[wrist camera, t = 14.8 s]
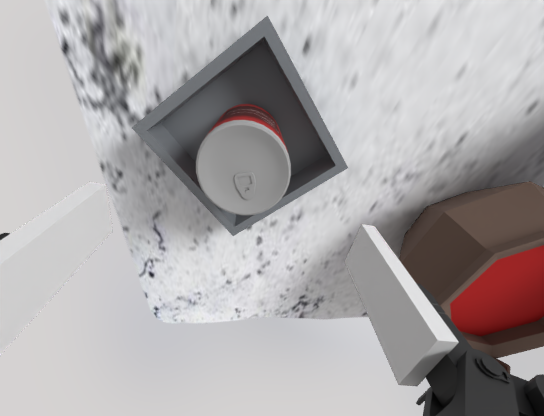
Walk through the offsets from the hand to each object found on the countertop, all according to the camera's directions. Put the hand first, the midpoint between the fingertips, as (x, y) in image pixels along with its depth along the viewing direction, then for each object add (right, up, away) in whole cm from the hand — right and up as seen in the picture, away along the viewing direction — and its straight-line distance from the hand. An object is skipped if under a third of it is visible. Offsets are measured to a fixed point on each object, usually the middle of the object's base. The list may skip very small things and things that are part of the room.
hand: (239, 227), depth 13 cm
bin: (-1, +10, +17) cm, 19 cm away
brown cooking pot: (+30, -3, +26) cm, 40 cm away
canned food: (-1, +9, +16) cm, 19 cm away
